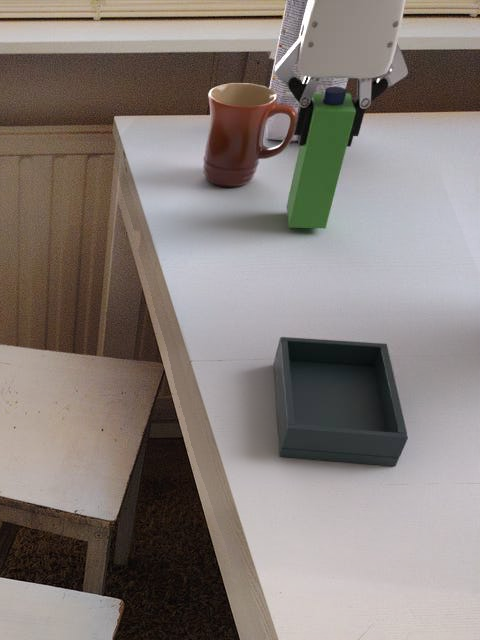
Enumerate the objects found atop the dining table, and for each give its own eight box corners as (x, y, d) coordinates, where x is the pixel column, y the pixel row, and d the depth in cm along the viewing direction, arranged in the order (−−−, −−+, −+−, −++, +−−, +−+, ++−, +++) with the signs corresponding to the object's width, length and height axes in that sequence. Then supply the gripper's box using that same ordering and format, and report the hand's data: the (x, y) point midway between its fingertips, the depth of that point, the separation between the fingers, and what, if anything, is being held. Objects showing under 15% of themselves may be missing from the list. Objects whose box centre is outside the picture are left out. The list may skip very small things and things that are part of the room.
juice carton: (331, 147, 120) (395, -96, 99) (258, 142, 122) (305, -98, 102) (332, 125, 126) (393, -111, 105) (263, 120, 128) (309, -113, 107)
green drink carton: (286, 207, 107) (313, 81, 96) (321, 208, 107) (353, 81, 96) (288, 227, 104) (317, 98, 93) (325, 228, 103) (359, 99, 92)
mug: (188, 186, 114) (200, 101, 106) (205, 162, 118) (218, 79, 111) (275, 199, 110) (294, 113, 102) (289, 174, 115) (308, 90, 107)
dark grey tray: (272, 364, 86) (280, 336, 83) (376, 371, 85) (386, 343, 82) (279, 456, 76) (287, 428, 74) (395, 466, 75) (408, 437, 73)
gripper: (450, -64, 86) (393, 131, 100) (283, -61, 88) (250, 129, 102) (464, -47, 81) (401, 156, 95) (286, -45, 83) (251, 152, 97)
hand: (323, 140), depth 98 cm, fingers closed on green drink carton, 4 cm apart
